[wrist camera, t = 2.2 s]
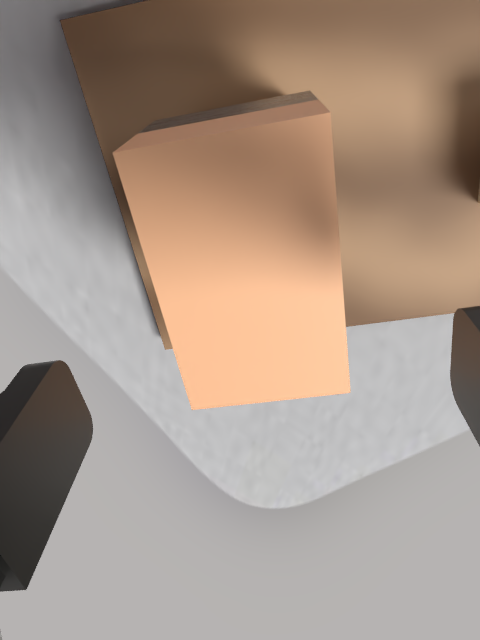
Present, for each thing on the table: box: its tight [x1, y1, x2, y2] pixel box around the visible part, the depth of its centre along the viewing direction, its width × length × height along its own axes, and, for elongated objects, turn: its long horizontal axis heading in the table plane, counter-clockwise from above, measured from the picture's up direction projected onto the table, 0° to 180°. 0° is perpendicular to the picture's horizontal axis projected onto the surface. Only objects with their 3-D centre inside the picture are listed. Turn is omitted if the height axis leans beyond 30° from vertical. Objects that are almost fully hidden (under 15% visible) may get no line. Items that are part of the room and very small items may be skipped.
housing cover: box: [113, 99, 350, 410], centre depth 13 cm, size 8×5×2 cm, turn 10°
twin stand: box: [60, 0, 480, 350], centre depth 18 cm, size 15×24×5 cm, turn 100°
